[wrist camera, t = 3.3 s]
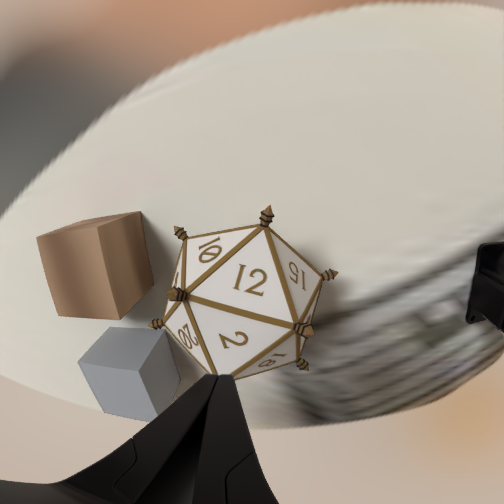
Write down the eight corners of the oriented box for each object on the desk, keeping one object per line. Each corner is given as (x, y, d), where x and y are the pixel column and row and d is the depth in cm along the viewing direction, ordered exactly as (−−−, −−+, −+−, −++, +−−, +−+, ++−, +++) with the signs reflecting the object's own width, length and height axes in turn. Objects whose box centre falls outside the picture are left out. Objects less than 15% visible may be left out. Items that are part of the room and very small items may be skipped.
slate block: (165, 328, 19) (138, 371, 14) (180, 379, 20) (161, 424, 16) (110, 326, 20) (77, 361, 15) (128, 374, 21) (104, 412, 16)
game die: (257, 279, 21) (223, 410, 15) (166, 211, 17) (96, 360, 11) (366, 242, 15) (356, 424, 10) (270, 131, 11) (188, 375, 6)
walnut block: (140, 210, 17) (97, 226, 12) (154, 284, 18) (119, 320, 13) (83, 220, 17) (36, 237, 12) (97, 285, 19) (58, 315, 14)
